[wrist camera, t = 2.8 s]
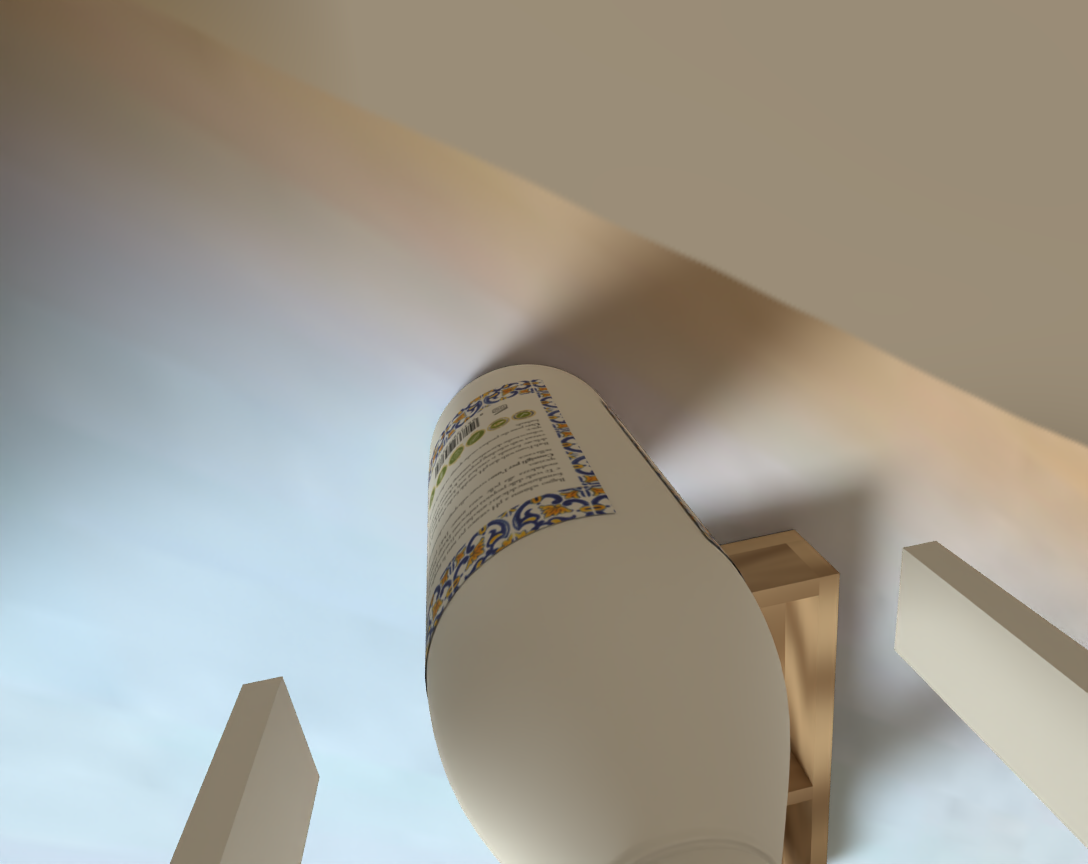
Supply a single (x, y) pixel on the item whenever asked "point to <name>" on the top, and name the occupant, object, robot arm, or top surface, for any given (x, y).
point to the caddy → (800, 672)
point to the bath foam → (592, 643)
